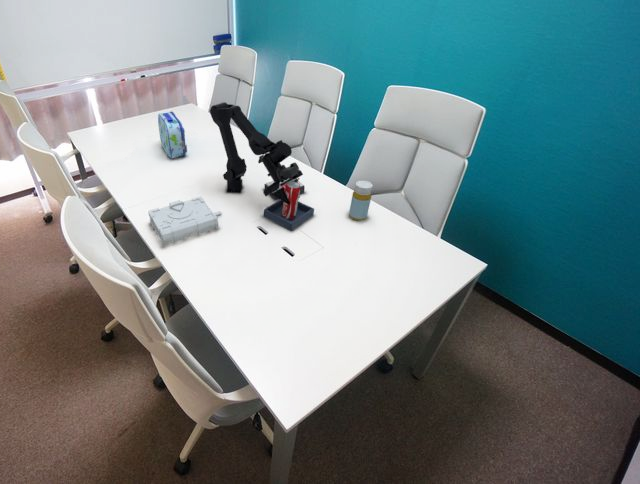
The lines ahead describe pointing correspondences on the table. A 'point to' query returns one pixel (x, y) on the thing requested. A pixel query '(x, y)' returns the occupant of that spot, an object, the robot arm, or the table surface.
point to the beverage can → (291, 200)
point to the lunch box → (172, 135)
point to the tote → (276, 216)
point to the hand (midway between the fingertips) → (294, 201)
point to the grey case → (183, 220)
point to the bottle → (360, 200)
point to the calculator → (284, 188)
